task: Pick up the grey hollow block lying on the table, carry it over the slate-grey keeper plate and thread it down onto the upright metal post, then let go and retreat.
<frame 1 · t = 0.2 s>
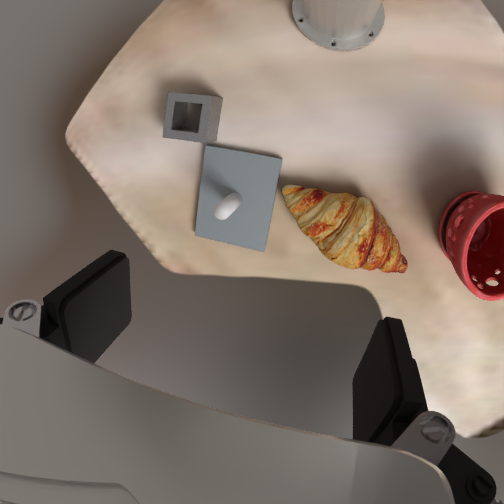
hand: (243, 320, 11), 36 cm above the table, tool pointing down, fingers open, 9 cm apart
grey hollow block: (198, 116, 44), on the table
plant pot: (469, 223, 41), on the table
keeper: (236, 197, 48), on the table
croissant: (347, 222, 46), on the table
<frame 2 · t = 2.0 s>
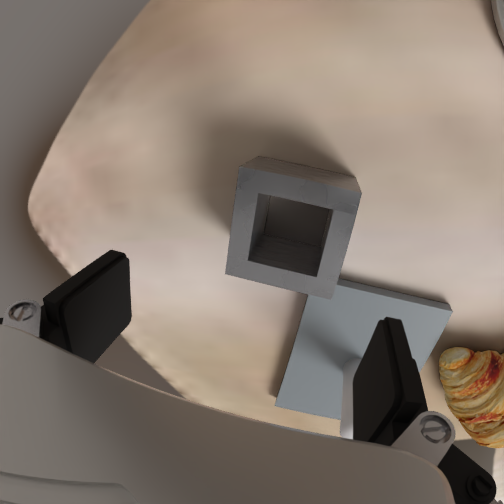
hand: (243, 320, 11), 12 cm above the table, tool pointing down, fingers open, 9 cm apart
grey hollow block: (297, 212, 21), on the table
keeper: (356, 360, 25), on the table
croissant: (499, 380, 23), on the table
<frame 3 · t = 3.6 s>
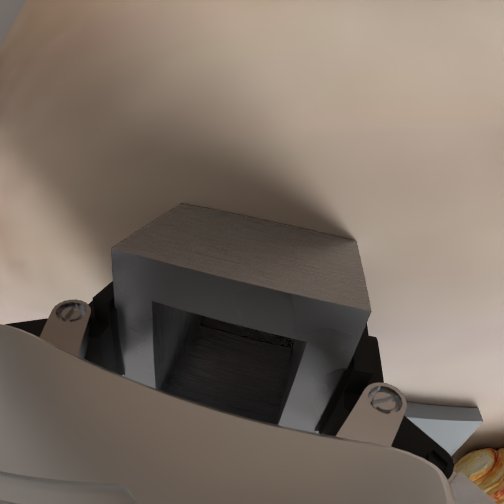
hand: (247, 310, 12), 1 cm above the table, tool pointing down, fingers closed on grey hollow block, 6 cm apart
grey hollow block: (252, 298, 13), on the table, touching gripper
keeper: (343, 469, 16), on the table
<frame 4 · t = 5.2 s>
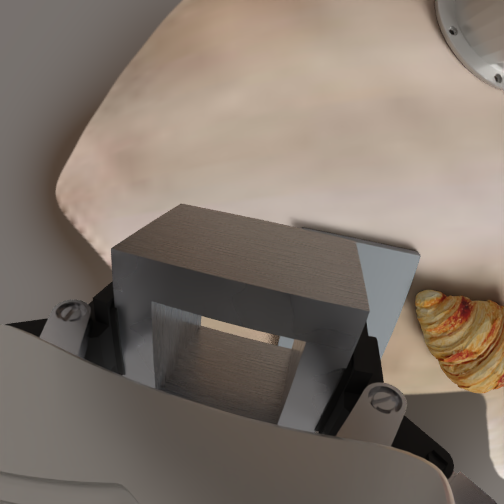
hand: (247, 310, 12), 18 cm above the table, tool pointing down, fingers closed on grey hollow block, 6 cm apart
grey hollow block: (252, 298, 13), point 17 cm above the table, touching gripper
keeper: (343, 306, 31), on the table
croissant: (475, 330, 29), on the table
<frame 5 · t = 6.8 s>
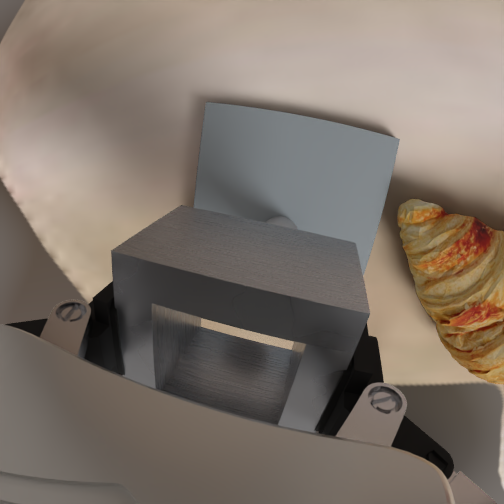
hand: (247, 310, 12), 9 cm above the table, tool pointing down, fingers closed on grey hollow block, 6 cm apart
grey hollow block: (252, 299, 13), point 8 cm above the table, touching gripper
keeper: (282, 228, 20), on the table
croissant: (492, 287, 19), on the table
when the fingers open (4 cm above the table, at t = 8.8 s): grey hollow block drops 2 cm, resting on keeper.
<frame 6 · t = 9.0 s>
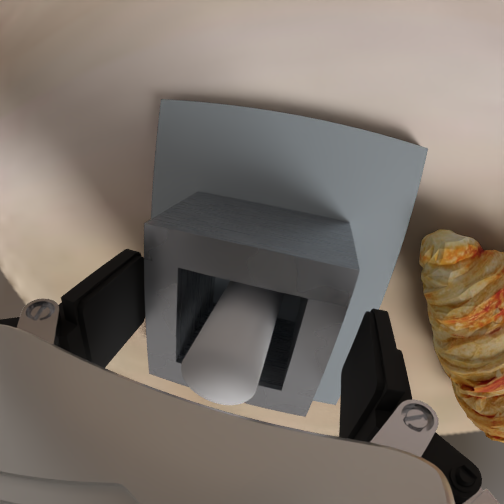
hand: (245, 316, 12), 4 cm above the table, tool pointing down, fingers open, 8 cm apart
grey hollow block: (260, 275, 14), point 1 cm above the table, touching keeper
keeper: (266, 267, 15), on the table
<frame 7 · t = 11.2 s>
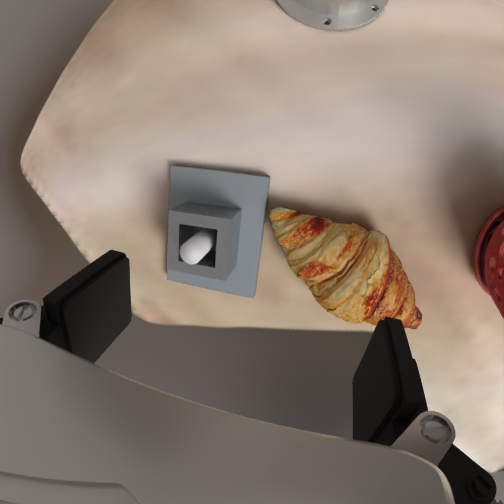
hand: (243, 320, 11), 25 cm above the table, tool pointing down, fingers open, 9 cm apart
grey hollow block: (211, 232, 36), point 1 cm above the table, touching keeper
keeper: (215, 230, 37), on the table
croissant: (351, 261, 35), on the table
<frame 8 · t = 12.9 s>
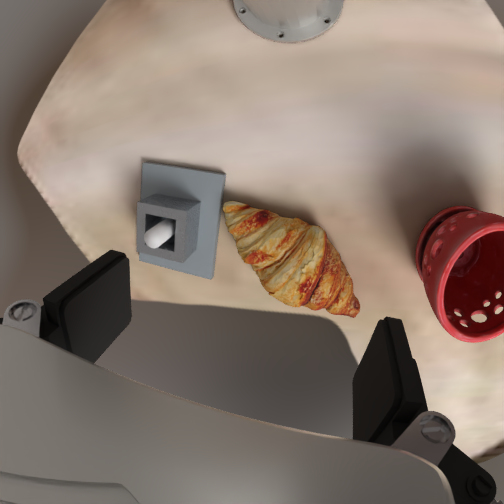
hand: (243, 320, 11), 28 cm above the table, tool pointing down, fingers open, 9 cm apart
grey hollow block: (175, 221, 41), point 1 cm above the table, touching keeper
plant pot: (454, 244, 35), on the table
keeper: (179, 219, 42), on the table
croissant: (296, 251, 41), on the table
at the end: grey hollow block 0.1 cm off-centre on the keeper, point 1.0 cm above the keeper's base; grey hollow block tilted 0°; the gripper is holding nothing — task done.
